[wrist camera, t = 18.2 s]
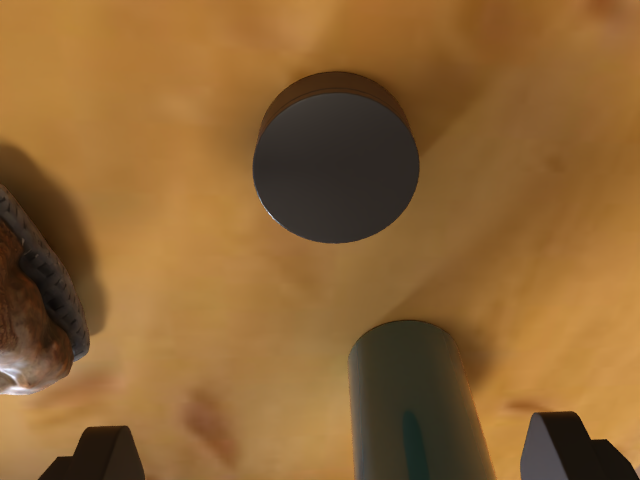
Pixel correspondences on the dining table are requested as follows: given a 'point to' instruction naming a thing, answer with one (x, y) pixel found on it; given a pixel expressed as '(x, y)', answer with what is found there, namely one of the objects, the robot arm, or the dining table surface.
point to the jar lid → (335, 158)
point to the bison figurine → (34, 307)
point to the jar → (413, 407)
